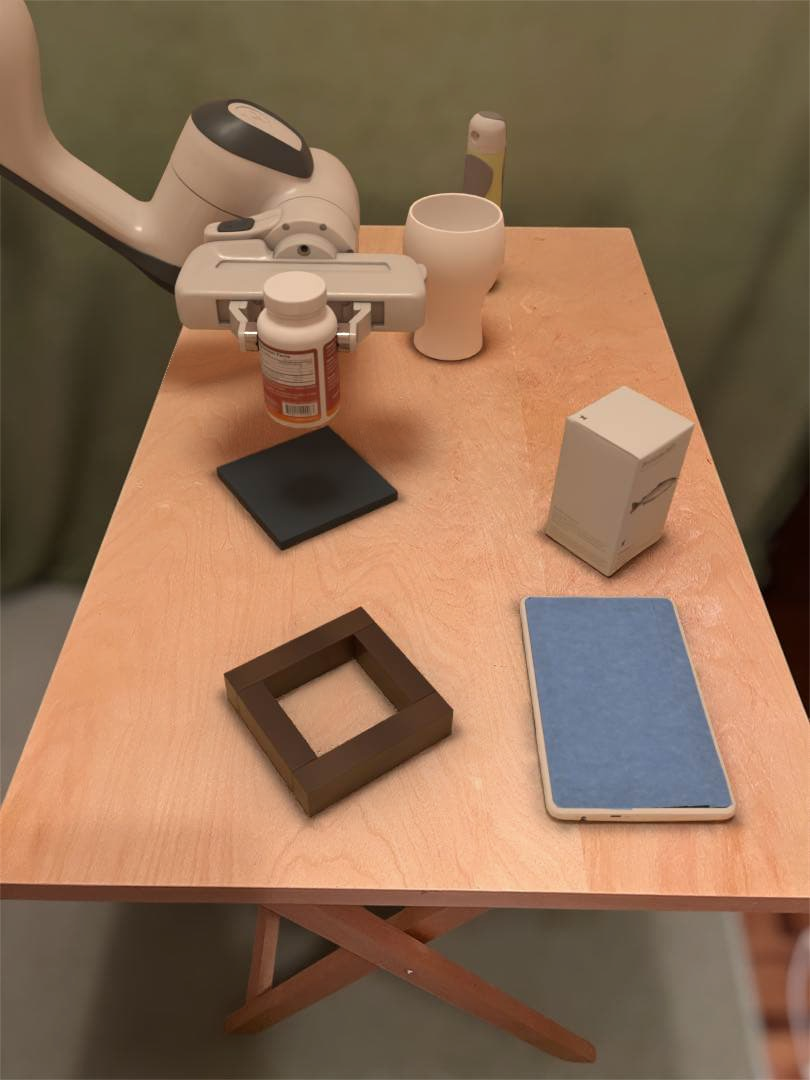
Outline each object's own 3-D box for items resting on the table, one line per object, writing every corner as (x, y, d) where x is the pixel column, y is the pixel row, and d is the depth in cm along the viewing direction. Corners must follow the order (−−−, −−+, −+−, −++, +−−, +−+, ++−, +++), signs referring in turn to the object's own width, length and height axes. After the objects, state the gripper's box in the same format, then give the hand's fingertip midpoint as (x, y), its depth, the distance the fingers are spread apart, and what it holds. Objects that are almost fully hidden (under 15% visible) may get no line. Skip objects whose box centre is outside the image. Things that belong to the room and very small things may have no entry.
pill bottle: (312, 378, 78) (305, 257, 71) (356, 412, 75) (353, 289, 67) (250, 404, 75) (236, 281, 68) (293, 440, 72) (283, 315, 64)
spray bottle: (447, 283, 112) (457, 112, 99) (474, 271, 115) (488, 103, 101) (475, 298, 110) (489, 125, 96) (503, 285, 112) (520, 115, 98)
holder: (309, 817, 59) (307, 794, 57) (227, 697, 66) (223, 673, 64) (451, 733, 64) (453, 709, 62) (361, 629, 71) (361, 605, 69)
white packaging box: (608, 580, 76) (639, 460, 67) (542, 533, 80) (563, 414, 71) (663, 541, 79) (698, 422, 71) (597, 498, 83) (623, 380, 75)
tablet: (737, 823, 60) (742, 813, 59) (545, 823, 59) (548, 812, 58) (671, 605, 74) (674, 594, 73) (516, 604, 73) (517, 592, 73)
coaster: (281, 550, 77) (280, 542, 77) (217, 475, 84) (216, 467, 84) (397, 499, 82) (398, 491, 82) (328, 432, 89) (327, 424, 89)
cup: (410, 313, 107) (414, 185, 96) (501, 324, 105) (514, 196, 95) (391, 361, 99) (393, 228, 89) (488, 374, 98) (501, 240, 87)
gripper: (425, 294, 82) (430, 380, 72) (197, 291, 82) (171, 378, 72) (428, 227, 78) (434, 309, 68) (187, 223, 77) (157, 305, 67)
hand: (296, 344), depth 70 cm, fingers closed on pill bottle, 6 cm apart
